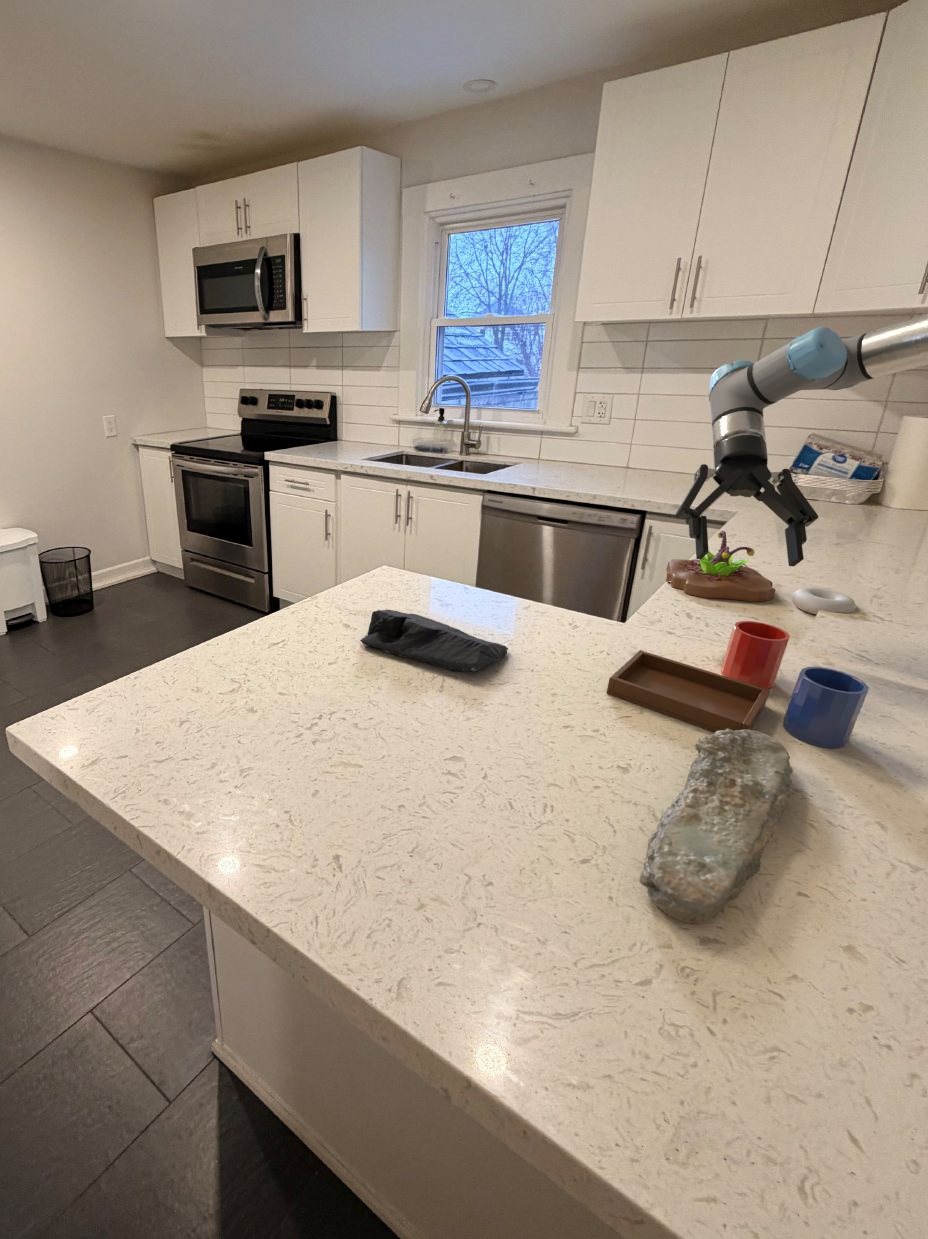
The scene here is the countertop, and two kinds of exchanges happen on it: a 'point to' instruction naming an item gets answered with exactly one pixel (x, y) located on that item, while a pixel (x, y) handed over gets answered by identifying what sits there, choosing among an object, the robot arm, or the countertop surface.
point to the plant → (720, 576)
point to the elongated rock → (717, 824)
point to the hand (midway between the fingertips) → (748, 559)
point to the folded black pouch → (430, 641)
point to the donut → (822, 600)
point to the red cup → (755, 653)
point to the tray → (688, 693)
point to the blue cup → (824, 707)
